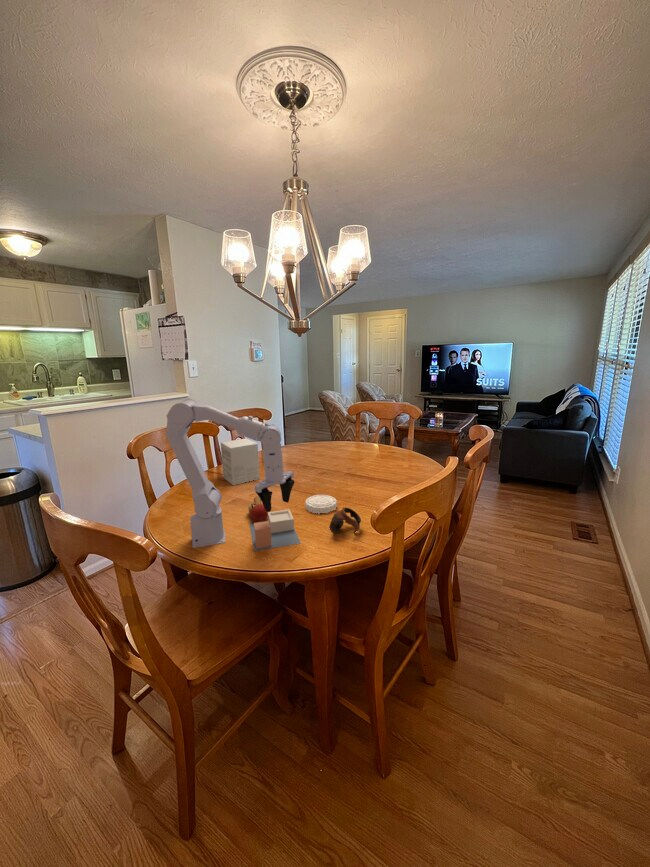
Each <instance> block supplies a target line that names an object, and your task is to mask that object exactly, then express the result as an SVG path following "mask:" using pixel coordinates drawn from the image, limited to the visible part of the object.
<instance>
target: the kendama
mask: <svg viewBox="0 0 650 867" xmlns="http://www.w3.org/2000/svg"><path fill="white" fill-rule="evenodd" d="M253 503H254V504H253ZM253 503H248V504H247V507H248V508H247V509H248V514H249V516H250V518H252V520H253V521H255V522H256V523H258V522H265V520H266V519H268V511H266V510H265V508H264V505H263V503H262V501H261V499H260V497H259V496H258V495H257V496H255V497H254V498H253Z"/></svg>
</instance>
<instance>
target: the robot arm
mask: <svg viewBox="0 0 650 867" xmlns="http://www.w3.org/2000/svg"><path fill="white" fill-rule="evenodd" d="M166 419H167V422H166V430H165V431H166V432H165V436H166V439H167V441H168V443H169V445H170V447H171V449H172V451H173V453H174V455H175V457H176V459H177V461H178V464H179V465H180V467H181V469H182V471H183V473H184V475H185V478H186V480H187V481H188V483H189V485H190V488H191V491H192V493H191V494H192V495H191V496H192V500H193V503H194V512H195V514H191V515H190V520H189V521H190V533H191V534H190V536H191V538H190V539H191V543H192V549H195V548H200V547H207V546H212V545H213V546H214V545H219V544H226V529H224V522H223V520H224V519H223V510H222V508H221V506H220V503H221V502H222V498H223V495H222V493H221V492H220V490H219V489H218V488H217V487H215V485H214V483H213V482H212V481H211V480H209V479H208V477H207V474H206V472H205V470H204V467H203V465H202V463H201V462H200V460H199V458H198V456H197V453H196V451H195V449H194V447H193V445H192V443H191V441H190V438H189V436H188V431H189V430H190V428H191V426H192V424H193V422H195V423H197V422H203V421H207V420H208V421H212V422H214V423H217V424H221V425H223V426H227V427H230V428H232V429H234V430H235V431H236V433H237V435H240V436H242V437H244V438H247V439H249V440H252V441H254V442H260V443H261V445H262V448H263V449H262V450H263V451H262V456H263V465H264V466H263V468H264V479H263V480H261V481H260V482H258V483H256V484H254V492H255V493H256V495H257V496H259V497H260V499H261V504H262V503H263V505H264V508H265V510H266V511H268V512H272V495H273V491H270V489H269V488H272V487H273V486H276V485H279V486H280V490H281V491H280V492H281V499H282V502H285V503H289V502H290V498H291V493H292V490H293V487H294V485H295V480H294V477H295V476H294V475H295V474H294V472H293V471H290V470H289V471H285V472H284V461H283V460H284V459H283V458H284V457H283V449H282V443H281V441H282V437H281V435H282V433H281V431H280V429H279V427H278V426H276V425H274V424H270V423H268V422H262V421H258V420H257V419H254V416H252V415H248V416H246V415H245V416H244V415H243V416H241V417H237V416H234V415H233V414H231V413H228V412H225V411H223V410H221V409H218V408H216V407H213V406H212V405H209V404H206V403H205V402H202V401H196V400H195V399H191V398H187V399H184V400H182V401H181V402H179V403H178V402H177V403H175V404H173V405H172V406H171V407H170V409H169V410H168V412H167V414H166Z"/></svg>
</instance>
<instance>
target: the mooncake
mask: <svg viewBox="0 0 650 867" xmlns="http://www.w3.org/2000/svg"><path fill="white" fill-rule="evenodd" d="M304 505H305V506H304V507H305V508H306V509H305V510H306V511H307V510H308V511H307V512H309V513H311V512H312V514H314V513H316V514H317V513H318V514H317V515H321V514H320V513H326V514H329V513H328V512H330V511H333V510H334V509H336V507H337V508H338V500H337V499H336V497H333V496H332V495H328V494H314V495H311V496H309V497H307V498H306V500H305V502H304ZM336 510H337V509H336ZM330 513H331V512H330Z"/></svg>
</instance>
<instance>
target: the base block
mask: <svg viewBox="0 0 650 867" xmlns="http://www.w3.org/2000/svg"><path fill="white" fill-rule="evenodd" d="M292 514H293V513H292V512H291V510H290V509H283V510H276V511H270V512H268V516H267V521H269V524H270V527H271V533H276V532H283V531H289V530H294V529H295V519H294V516H293V515H292Z"/></svg>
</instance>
